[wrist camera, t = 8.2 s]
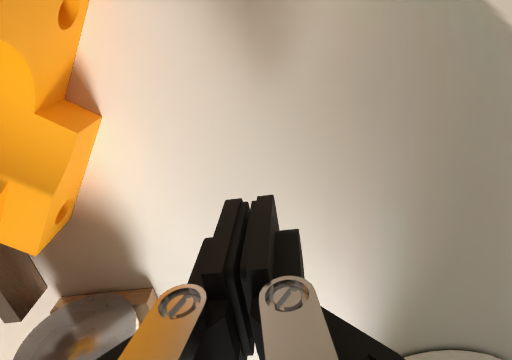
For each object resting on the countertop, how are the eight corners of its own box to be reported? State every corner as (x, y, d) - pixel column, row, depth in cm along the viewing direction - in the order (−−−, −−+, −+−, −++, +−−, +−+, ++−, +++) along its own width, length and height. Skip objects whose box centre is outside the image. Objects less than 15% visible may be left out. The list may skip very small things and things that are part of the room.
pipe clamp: (71, 217, 19) (-16, 312, 13) (-11, 184, 18) (-142, 270, 12) (141, -5, 14) (47, -9, 8) (31, -65, 13) (-162, -119, 7)
